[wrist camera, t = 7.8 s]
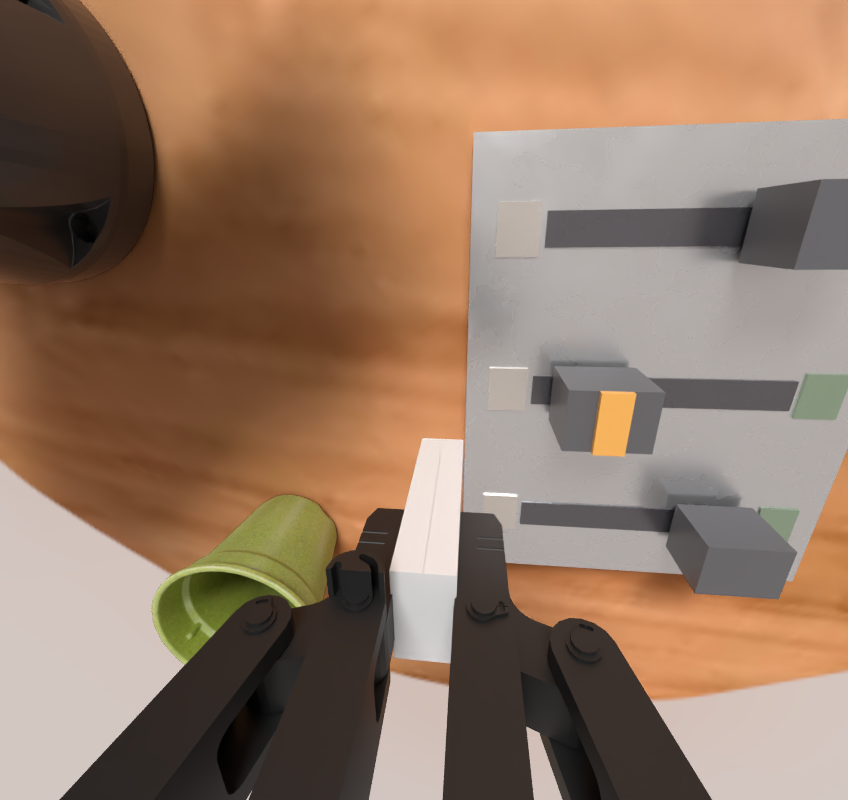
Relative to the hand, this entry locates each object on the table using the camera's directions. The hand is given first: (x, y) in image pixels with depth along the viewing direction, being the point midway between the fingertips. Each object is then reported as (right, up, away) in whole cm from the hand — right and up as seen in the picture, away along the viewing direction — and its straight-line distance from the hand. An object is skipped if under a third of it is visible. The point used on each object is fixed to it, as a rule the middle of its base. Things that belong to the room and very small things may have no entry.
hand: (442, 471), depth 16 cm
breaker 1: (+8, +3, +6) cm, 11 cm away
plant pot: (-10, -7, +15) cm, 19 cm away
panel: (+12, +4, +8) cm, 15 cm away
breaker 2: (+16, -5, +9) cm, 18 cm away
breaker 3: (+15, +10, +3) cm, 19 cm away
